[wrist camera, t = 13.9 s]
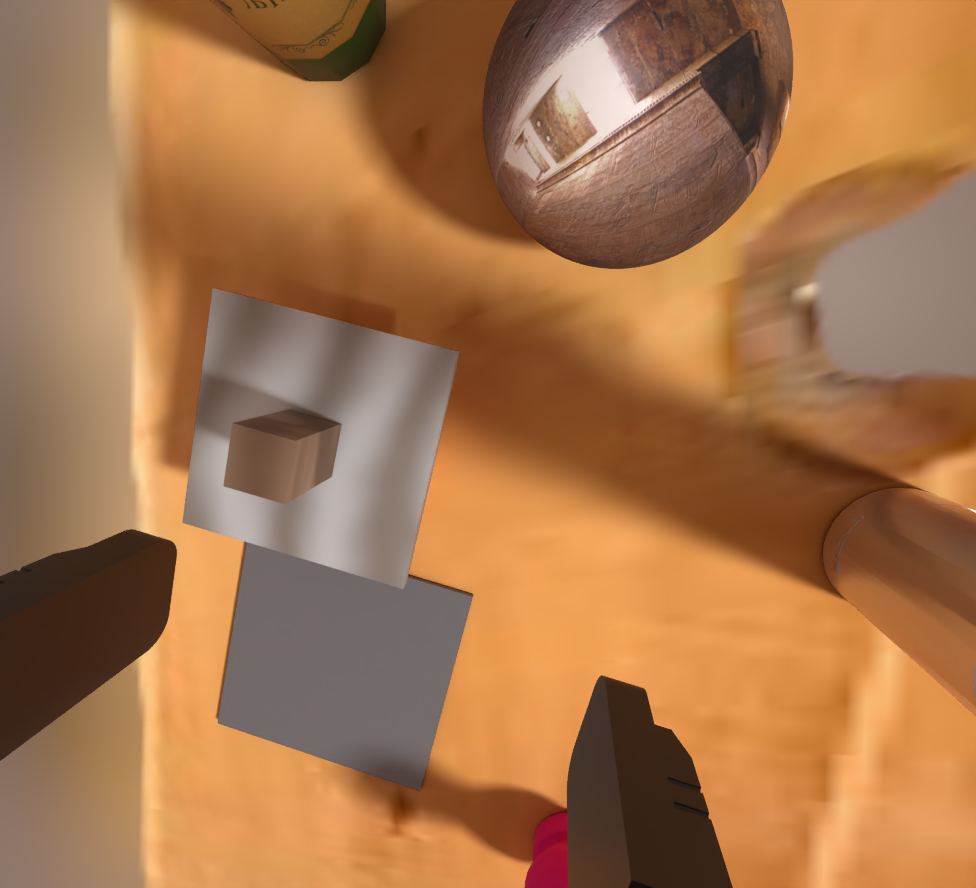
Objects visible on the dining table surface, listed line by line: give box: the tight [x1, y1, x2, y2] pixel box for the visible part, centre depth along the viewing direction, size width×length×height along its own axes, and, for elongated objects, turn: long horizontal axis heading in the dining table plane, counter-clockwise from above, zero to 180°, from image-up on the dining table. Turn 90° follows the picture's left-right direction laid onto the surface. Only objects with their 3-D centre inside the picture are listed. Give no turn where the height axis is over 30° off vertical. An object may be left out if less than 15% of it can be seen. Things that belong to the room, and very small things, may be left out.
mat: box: [218, 542, 473, 791], centre depth 44 cm, size 19×19×1 cm
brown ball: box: [483, 0, 793, 269], centre depth 27 cm, size 15×15×15 cm
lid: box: [183, 288, 460, 589], centre depth 31 cm, size 16×16×7 cm
